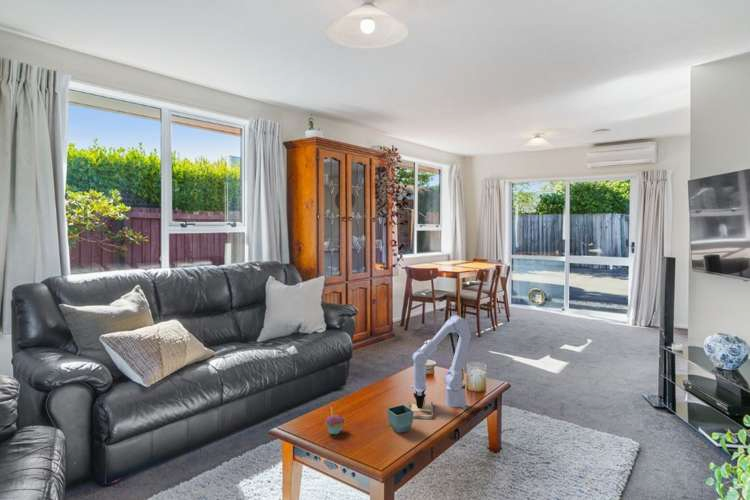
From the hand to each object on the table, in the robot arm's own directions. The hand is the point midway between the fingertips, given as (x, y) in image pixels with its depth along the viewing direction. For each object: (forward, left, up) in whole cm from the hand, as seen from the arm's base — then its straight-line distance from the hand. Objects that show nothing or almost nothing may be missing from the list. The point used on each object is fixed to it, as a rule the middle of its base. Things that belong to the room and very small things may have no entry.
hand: (420, 405), depth 218 cm
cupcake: (+36, +27, -2) cm, 45 cm away
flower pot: (+8, +23, -2) cm, 25 cm away
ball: (0, 0, -1) cm, 1 cm away
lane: (0, +5, -2) cm, 5 cm away
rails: (0, +5, -2) cm, 5 cm away
